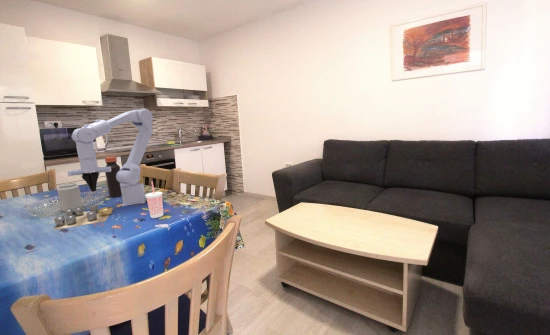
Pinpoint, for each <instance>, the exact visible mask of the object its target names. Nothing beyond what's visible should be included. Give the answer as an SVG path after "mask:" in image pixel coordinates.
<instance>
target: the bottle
mask: <svg viewBox="0 0 550 335" xmlns="http://www.w3.org/2000/svg"><path fill="white" fill-rule="evenodd" d="M117 160H118V159H117V156H107V157H104V161H105V164H106V165H105V167H110V166H111V172H104V173H105V179H106V185H107V189H108V195H109V197H110V198H117V197H118V198H119V197H122V193H121V187H120V182H118V181H117V179H116V174H117V172H118V171H120V170H121V167H120V165H119V164H117Z"/></svg>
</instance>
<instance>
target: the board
mask: <svg viewBox="0 0 550 335" xmlns="http://www.w3.org/2000/svg"><path fill="white" fill-rule="evenodd" d="M111 208H112V210H113V209H114V207H111ZM83 212H84V215H82V216H78V217H76V221H77V223H76V224H74V225H67V223H66V225H64V226H61V227H56V226H55V228H54V229H53V231H55V230H61V229H66V228H75V227H79V226H85V225H91V224H97V223H103V222H107V219H108V218H109V216H110V215H108V216H100V215H99V213H97V214H96V216H97V220H95V221H90V222H89V221H88V219H87V215H86V213H88V212H90V210H89V211H83ZM65 222H66V219H65Z"/></svg>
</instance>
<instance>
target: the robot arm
mask: <svg viewBox="0 0 550 335" xmlns="http://www.w3.org/2000/svg"><path fill="white" fill-rule="evenodd" d="M153 116H154V115H153V114H152V112H151V111H150V110H149V109H147V108H141V109H132V110H129V111H125V112H123V113H120V114H119V115H116V116H114V117H112V118H110V119H107V120H106V119H95V120H94V122H92V123H90V124H84V125H83V127H81V128H80V127H79V128H76V129H74V130H73V132H72V135H71V139H72V141H74V142H75V146H76V152H77V156H78V161H79V166H80V169H73V170H68V171H67V176H68V177H72V176H73V177H74V176H81V178H82V180H83V181H85V183H86V184H87V185H88V187H89V189H90V191H91V192H96V191H97V186H98V185H97V183H98V179H99V176H100V173H105V172H111V166H110V167H106V166H101V167H100V166H98V160H97V155H96V150H95V144H94V141H95V139H97V138H99V137H102V136H103V135H106V134H108V133H110V132H111V131H112V130H111V129H112V128H114V127H117V126H119V125H122V124H124V123H127V122H131V123H132V124H133V125H134V127H136V129H137V131H138V133H137V136H136V139H135V140H134V143H133V146H132V148H131V150H130V153H129V155H128V158H127V159H126V160H127V161H126V162H125V163H124V164H123V165H122V166H121V167H120V171H118V172H117V174H116V179H117V181H118V182H120V187H121V193H122V196H121V198H122V204H121V207H124V206H130V205H132V206H133V205H138V204H140V205H141V204H145V203H146V201H147V198H146V196H145V195H146V191H145V185H144V183H143V182H141V183H140V180H141V172H142V171H141V167H140V165H141V163H142V159H143V158H144V155H145V152H146V150H147V147H148V145H149V142H150V140H151V137H152V135H153V121H154V117H153Z"/></svg>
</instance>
